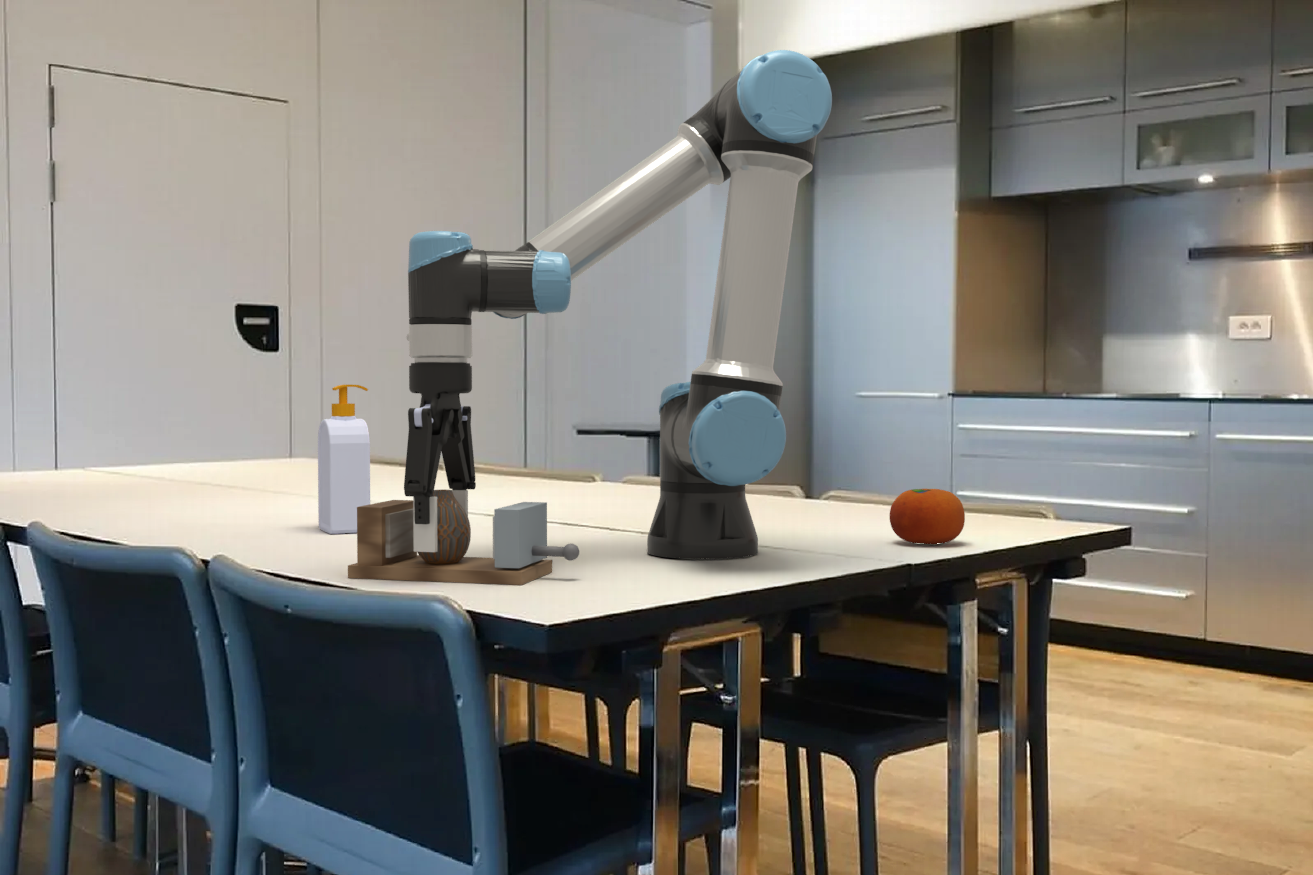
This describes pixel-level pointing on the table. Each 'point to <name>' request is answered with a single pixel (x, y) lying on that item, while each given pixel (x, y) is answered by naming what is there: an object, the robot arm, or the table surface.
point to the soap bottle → (342, 467)
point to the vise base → (393, 557)
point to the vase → (449, 530)
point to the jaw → (524, 536)
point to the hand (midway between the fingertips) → (441, 546)
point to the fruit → (927, 516)
